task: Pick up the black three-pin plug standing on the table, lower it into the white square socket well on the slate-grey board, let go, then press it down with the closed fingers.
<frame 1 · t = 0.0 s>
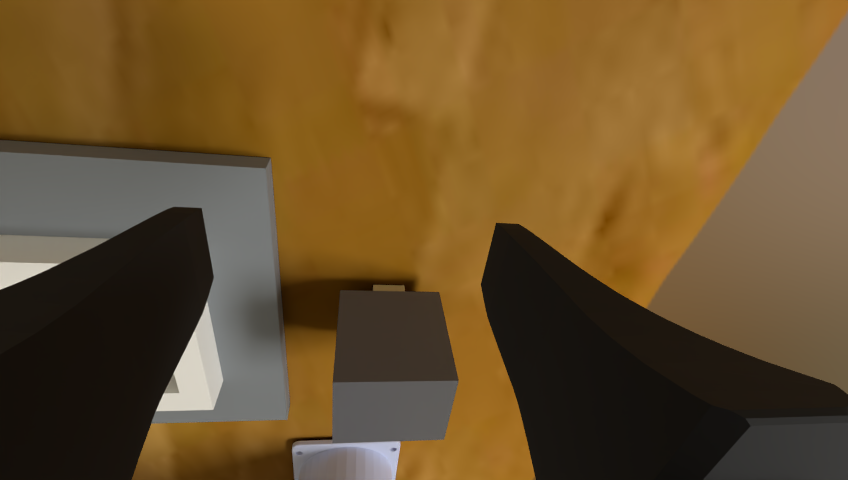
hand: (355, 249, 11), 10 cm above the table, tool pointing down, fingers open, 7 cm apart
plug: (386, 306, 25), on the table
socket: (109, 302, 23), on the table
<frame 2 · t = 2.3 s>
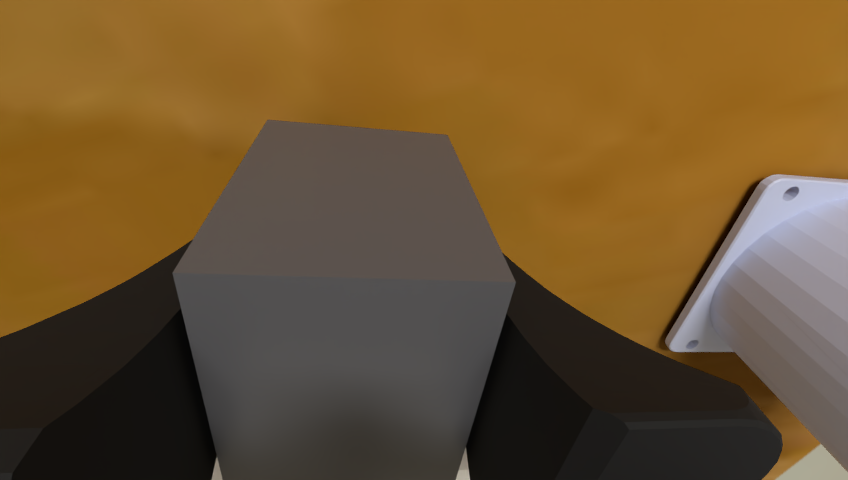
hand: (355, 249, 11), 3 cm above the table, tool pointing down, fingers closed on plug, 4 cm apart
plug: (357, 201, 13), on the table, touching gripper
socket: (345, 470, 21), on the table
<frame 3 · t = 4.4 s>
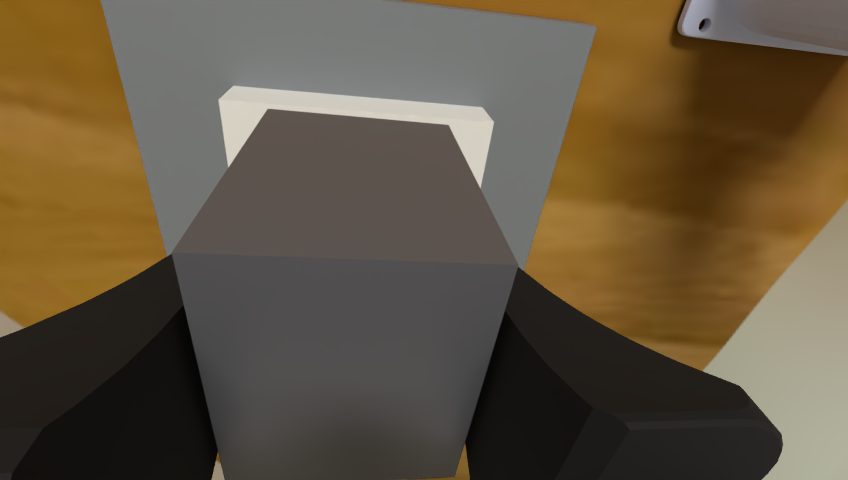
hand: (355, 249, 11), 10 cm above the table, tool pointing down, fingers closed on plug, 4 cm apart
plug: (357, 193, 13), point 7 cm above the table, touching gripper
socket: (359, 202, 21), on the table
when the fingers open (5 cm above the table, at t = 6.9 s): plug stays where it is, resting on socket.
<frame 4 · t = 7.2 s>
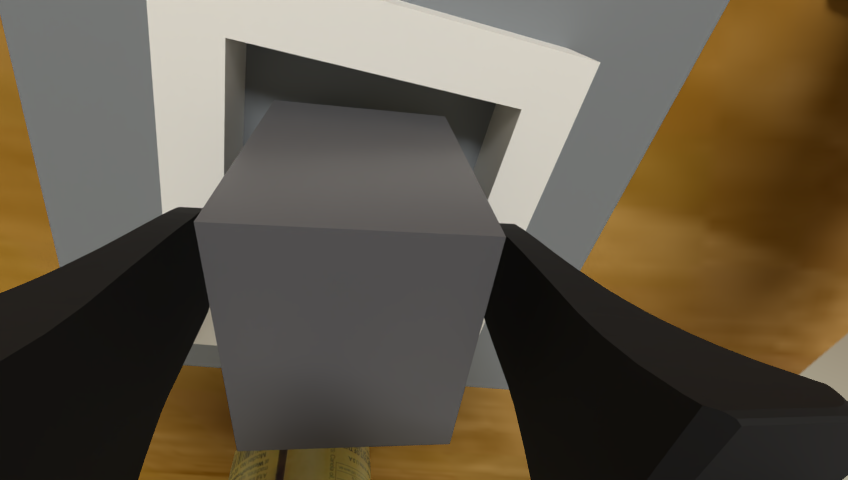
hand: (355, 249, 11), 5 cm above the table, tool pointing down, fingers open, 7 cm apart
plug: (358, 182, 13), point 1 cm above the table, touching socket
sauce bottle: (312, 417, 22), on the table
socket: (358, 174, 15), on the table
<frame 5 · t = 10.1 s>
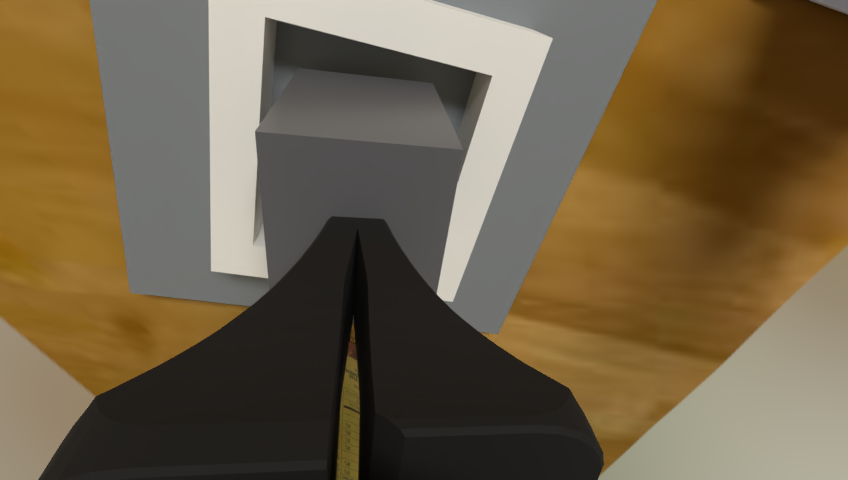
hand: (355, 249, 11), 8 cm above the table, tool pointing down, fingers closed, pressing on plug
plug: (363, 141, 16), point 1 cm above the table, touching gripper, socket
sauce bottle: (321, 360, 25), on the table
socket: (363, 136, 18), on the table
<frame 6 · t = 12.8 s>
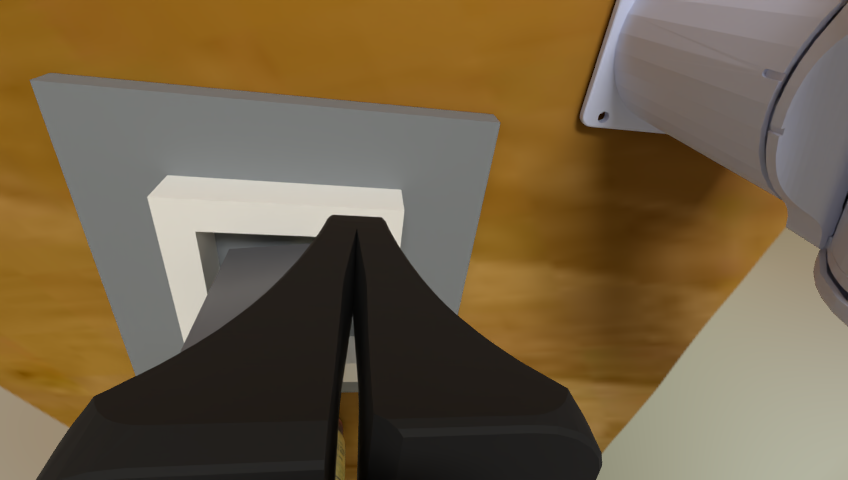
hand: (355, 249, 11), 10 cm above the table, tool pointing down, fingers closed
plug: (293, 276, 22), point 1 cm above the table, touching socket
sauce bottle: (304, 421, 30), on the table
socket: (297, 266, 23), on the table
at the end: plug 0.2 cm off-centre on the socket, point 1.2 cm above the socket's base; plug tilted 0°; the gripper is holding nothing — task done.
